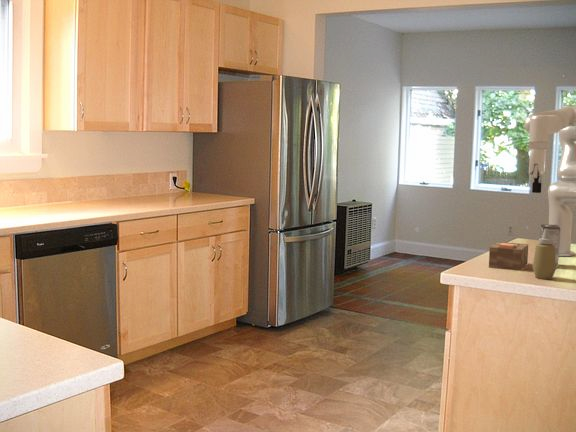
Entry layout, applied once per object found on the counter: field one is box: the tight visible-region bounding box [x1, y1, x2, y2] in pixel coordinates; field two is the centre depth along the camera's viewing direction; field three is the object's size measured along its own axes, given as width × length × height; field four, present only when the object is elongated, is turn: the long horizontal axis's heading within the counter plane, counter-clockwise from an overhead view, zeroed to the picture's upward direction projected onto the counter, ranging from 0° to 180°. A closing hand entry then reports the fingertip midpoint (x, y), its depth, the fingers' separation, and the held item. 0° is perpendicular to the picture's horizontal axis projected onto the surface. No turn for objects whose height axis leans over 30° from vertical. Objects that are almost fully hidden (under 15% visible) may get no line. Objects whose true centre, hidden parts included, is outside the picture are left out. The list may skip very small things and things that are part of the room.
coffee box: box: [539, 223, 560, 269], centre depth 287 cm, size 9×6×16 cm
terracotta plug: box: [500, 242, 515, 249], centre depth 283 cm, size 5×5×6 cm
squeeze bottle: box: [532, 229, 557, 280], centre depth 262 cm, size 8×8×18 cm
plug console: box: [488, 241, 529, 271], centre depth 286 cm, size 16×12×8 cm
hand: (536, 192), depth 288 cm, fingers closed
